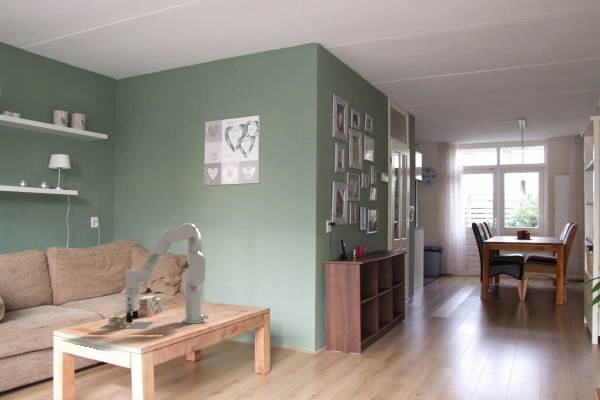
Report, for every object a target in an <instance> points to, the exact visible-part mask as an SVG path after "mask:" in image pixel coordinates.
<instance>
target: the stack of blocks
mask: <svg viewBox="0 0 600 400" xmlns="http://www.w3.org/2000/svg"><path fill="white" fill-rule="evenodd" d="M139 304H140V308H139V309H138V318H152V317H154V316H156V315H158V314H160V313H162V312H163V298H162V297H157V295H144V296H142V297H139Z"/></svg>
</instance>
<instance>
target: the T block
mask: <svg viewBox="0 0 600 400" xmlns="http://www.w3.org/2000/svg"><path fill="white" fill-rule="evenodd" d="M126 321H127V318H126V315H110V316H108V323H109V326H120V328H126V327H128V326H129V325H131V324H132V323H133V322H134V319H133V318H132V322H126Z"/></svg>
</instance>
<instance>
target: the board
mask: <svg viewBox="0 0 600 400" xmlns="http://www.w3.org/2000/svg"><path fill="white" fill-rule="evenodd" d="M153 324H155V321H133V323H132V324H131V325H129V326H128V327H126V328H120V326H109V322H108V323H107V324H104V326H102V327H99V329H100V330H146V329H148V328H149V327H150V326H151V325H153Z"/></svg>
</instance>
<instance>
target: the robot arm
mask: <svg viewBox="0 0 600 400" xmlns="http://www.w3.org/2000/svg"><path fill="white" fill-rule="evenodd" d="M185 240H187V258H186V262H187V264H188V265H189V267H188V268H189V269H188V270H187V272H186V273H185V274H184V284H185V285H184V286H185V309H184V310H185V318H184V319H182V323H183V324H184V323H185V324H201V323H203V322H205V320H209V317H210V316H209V315H208V314H205V315H204V314H203V312H202V311H203V309H202V304H203V303H202V298H203V297H202V292H203V291H202V285H203V284H204V283H205V279H206V266H207V265H206V262H207V261H206V257H205V255H204V254H203V237H202V235H201V233H200V231H199V229H198V228H197V226H196V225H195V224H194V223H191V222H185V223H182V224H181V225H179V226H177V227H174V228H165V229H164V230H163V231H162V232H161V234H160V236H159V238H158V239H157V240H156V243H155V244H154V246H153V248H152V249H151V251H150V252H149V254H148V255H147V256H146V259H145V260H144V262H143V263H142V265H141V267H140V268H139V269H137V268H132V269H127V270H126V271H125V295H126V299H125V314H126V318H127V321H126V322H132V318H133V320H134V319H136V320H137V319H138V318H139V317H138V309H139V308H140V304H139V299H140V282H144V283H147V282H150V281H152V280H153V278H154V271H155V269H156V267H157V266H158V265H159V263H160V262H161V261H162V260H164V258H165V257H166V256H167V255H168V252H169V250H170V249H171V247H172V246H173V244H175V243H179V242H182V241H185Z"/></svg>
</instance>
